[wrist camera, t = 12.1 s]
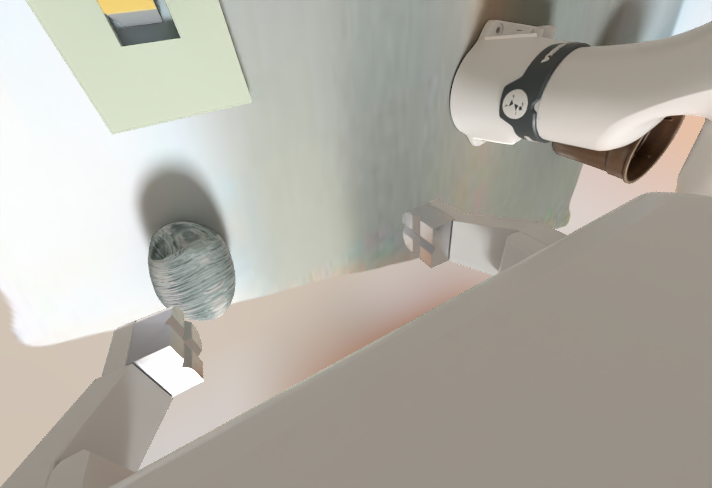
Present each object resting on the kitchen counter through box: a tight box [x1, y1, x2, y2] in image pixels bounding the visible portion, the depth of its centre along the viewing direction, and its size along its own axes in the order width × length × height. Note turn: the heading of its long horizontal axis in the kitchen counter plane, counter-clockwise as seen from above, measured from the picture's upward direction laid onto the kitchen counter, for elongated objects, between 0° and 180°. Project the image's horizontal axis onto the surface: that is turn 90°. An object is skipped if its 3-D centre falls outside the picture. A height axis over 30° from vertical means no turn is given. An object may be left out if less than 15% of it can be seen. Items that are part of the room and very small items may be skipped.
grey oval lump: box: [148, 221, 235, 321], centre depth 36 cm, size 14×10×10 cm
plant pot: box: [553, 115, 685, 184], centre depth 59 cm, size 16×16×16 cm
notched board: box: [25, 0, 252, 134], centre depth 26 cm, size 14×12×2 cm
